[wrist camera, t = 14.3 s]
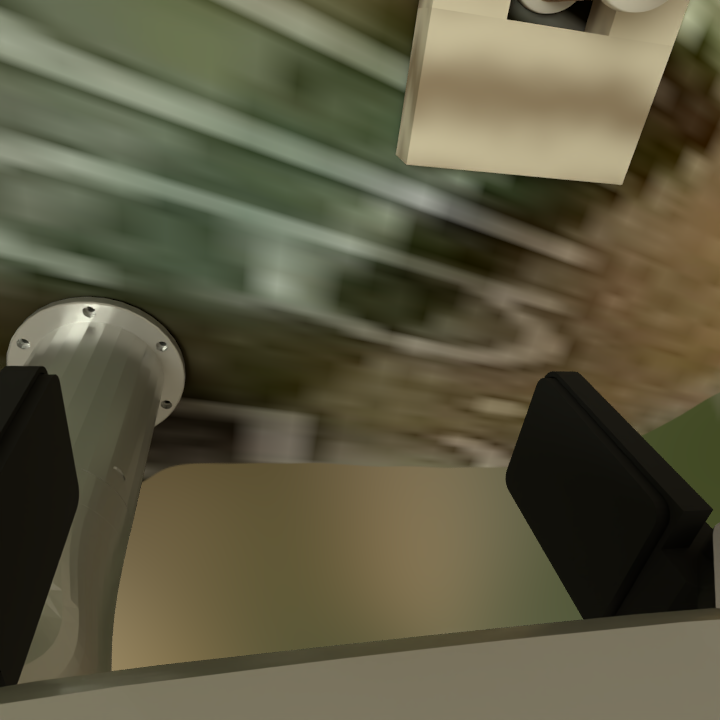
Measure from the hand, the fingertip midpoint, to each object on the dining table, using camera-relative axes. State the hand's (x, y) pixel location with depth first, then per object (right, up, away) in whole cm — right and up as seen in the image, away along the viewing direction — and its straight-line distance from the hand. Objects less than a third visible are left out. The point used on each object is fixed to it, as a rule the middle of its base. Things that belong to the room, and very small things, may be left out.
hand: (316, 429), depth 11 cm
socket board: (+12, +23, +24) cm, 35 cm away
